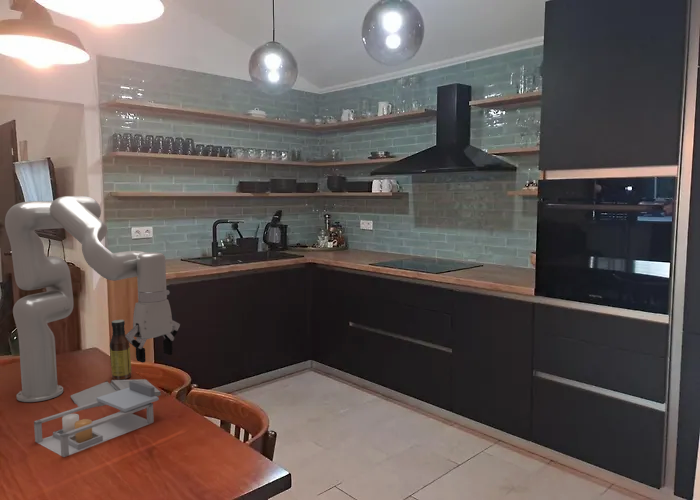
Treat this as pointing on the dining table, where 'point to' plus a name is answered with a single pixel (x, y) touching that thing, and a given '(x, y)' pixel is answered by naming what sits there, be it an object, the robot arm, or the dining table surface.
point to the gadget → (104, 391)
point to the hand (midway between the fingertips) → (154, 357)
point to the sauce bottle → (120, 352)
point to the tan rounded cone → (84, 434)
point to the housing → (100, 429)
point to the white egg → (69, 422)
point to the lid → (130, 397)
